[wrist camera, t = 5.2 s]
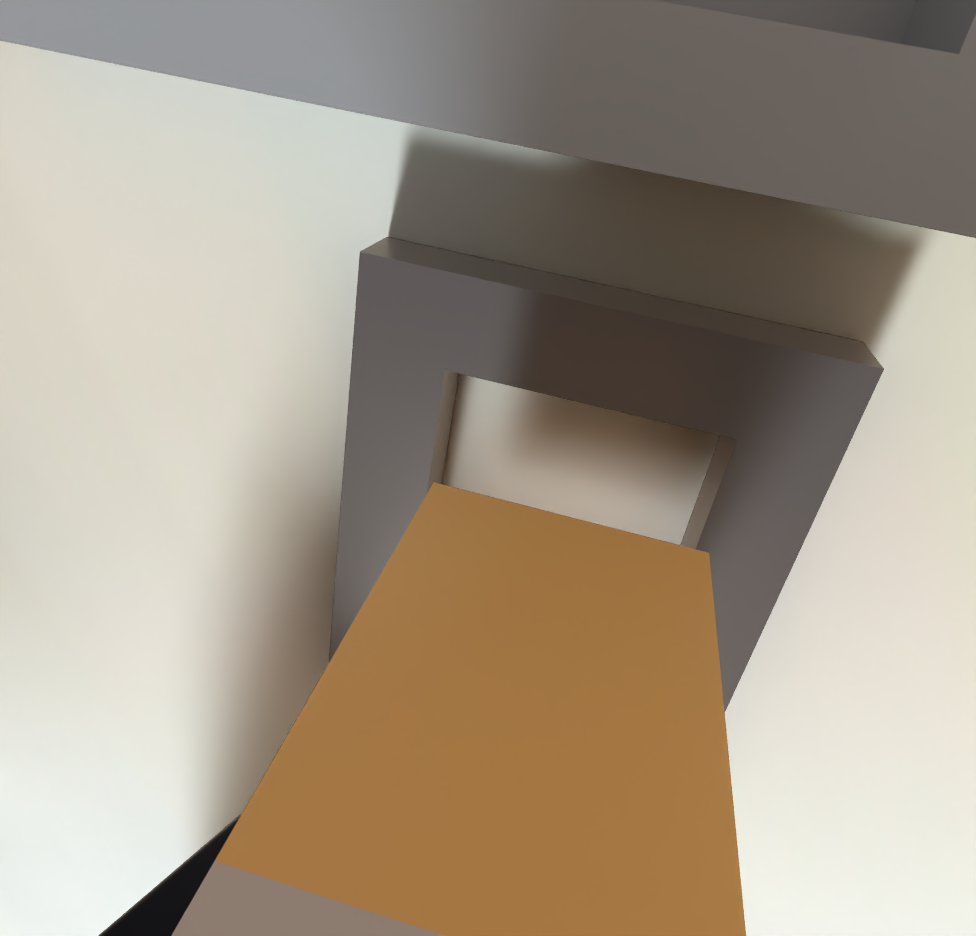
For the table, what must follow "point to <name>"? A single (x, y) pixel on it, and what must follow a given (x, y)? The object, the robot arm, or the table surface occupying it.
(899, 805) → the table surface
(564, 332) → the holder
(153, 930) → the robot arm
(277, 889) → the white and orange block
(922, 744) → the table surface
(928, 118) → the tray
